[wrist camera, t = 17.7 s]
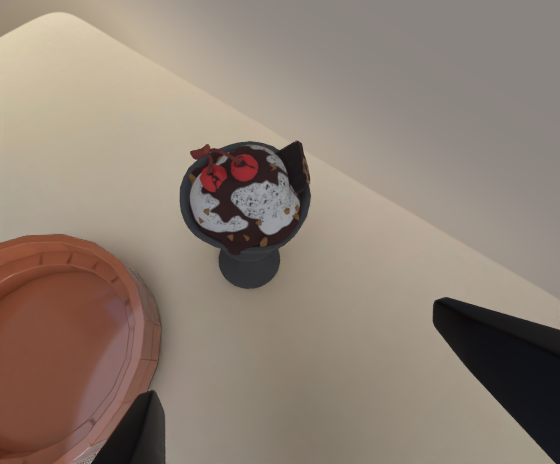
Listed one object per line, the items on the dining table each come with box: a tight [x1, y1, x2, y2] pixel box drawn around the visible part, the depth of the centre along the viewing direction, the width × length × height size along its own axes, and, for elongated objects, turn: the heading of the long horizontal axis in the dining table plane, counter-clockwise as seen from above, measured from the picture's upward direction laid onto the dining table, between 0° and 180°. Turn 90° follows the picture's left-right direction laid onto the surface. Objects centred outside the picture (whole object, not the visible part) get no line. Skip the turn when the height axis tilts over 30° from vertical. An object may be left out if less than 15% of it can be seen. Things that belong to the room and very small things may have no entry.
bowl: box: [0, 234, 161, 464], centre depth 19 cm, size 14×14×4 cm
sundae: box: [180, 141, 311, 289], centre depth 18 cm, size 7×7×15 cm
